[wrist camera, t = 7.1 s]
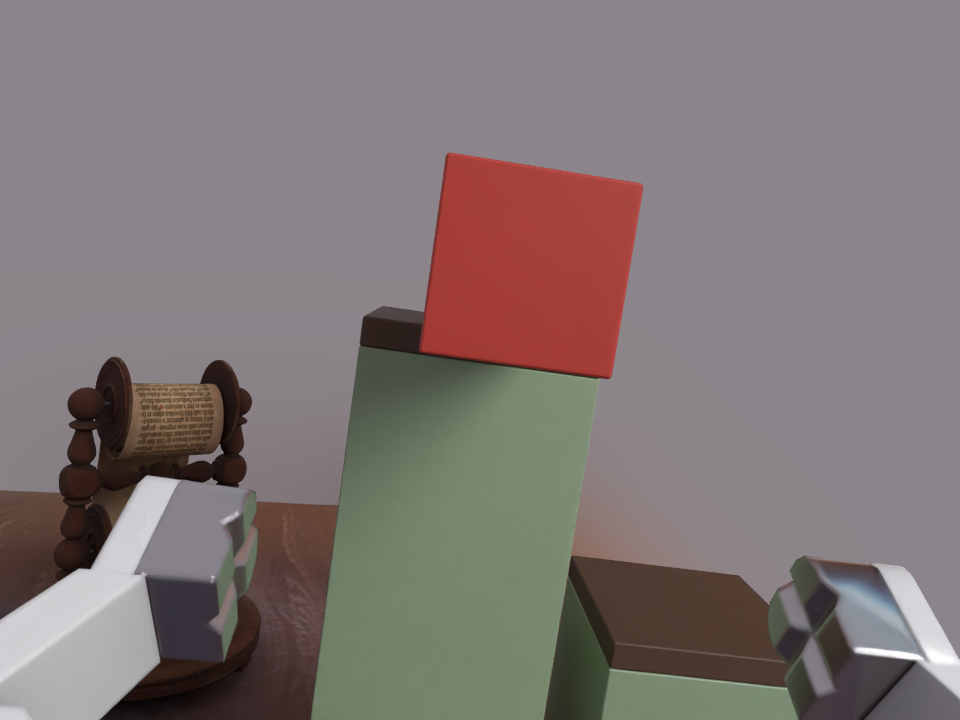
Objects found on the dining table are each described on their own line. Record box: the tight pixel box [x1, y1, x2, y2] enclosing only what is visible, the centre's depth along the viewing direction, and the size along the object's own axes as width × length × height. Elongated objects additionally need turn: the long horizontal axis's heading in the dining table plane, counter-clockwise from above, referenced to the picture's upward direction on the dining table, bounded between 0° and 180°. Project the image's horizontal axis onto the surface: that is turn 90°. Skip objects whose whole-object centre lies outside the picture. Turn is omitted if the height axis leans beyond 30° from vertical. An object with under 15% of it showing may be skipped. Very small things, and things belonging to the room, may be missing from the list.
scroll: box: [54, 357, 261, 701], centre depth 47 cm, size 15×15×20 cm
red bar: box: [419, 153, 643, 379], centre depth 26 cm, size 24×4×4 cm, turn 3°
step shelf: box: [310, 306, 798, 720], centre depth 29 cm, size 10×20×26 cm, turn 93°
